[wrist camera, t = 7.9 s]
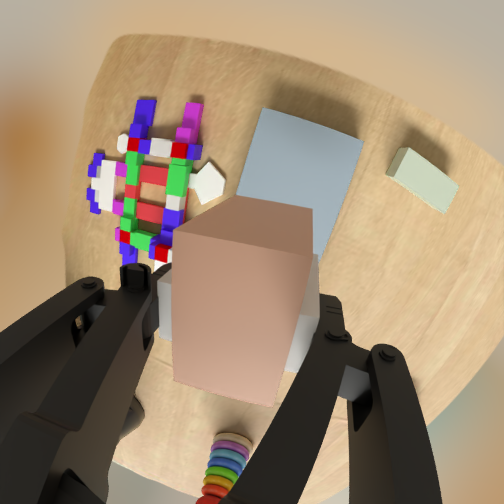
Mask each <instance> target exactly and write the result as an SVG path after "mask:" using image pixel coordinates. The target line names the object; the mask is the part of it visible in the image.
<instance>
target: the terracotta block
mask: <svg viewBox="0 0 504 504" xmlns="http://www.w3.org/2000/svg"><path fill="white" fill-rule="evenodd" d="M312 260H313V209H311V208H306V207H301V206H296V205H290V204H285V203H280V202H274V201H268V200H263V199H257V198H251V197H245V196H239V195H234V196H233V197H231V198H229V199H227V200H225V201H223V202H221V203H220V204H218V205H216V206H214V207H212V208H211V209H209V210H207V211H205V212H203V213H202V214H200V215H198V216H196V217H195V218H193V219H191V220H189V221H188V222H186V223H184V224H182V225H181V226H179V227H177V228H176V229H174V230H173V244H172V280H171V320H172V356H173V376H174V381H175V382H178V383H181V384H185V385H188V386H191V387H194V388H197V389H200V390H204V391H207V392H211V393H214V394H218V395H221V396H225V397H229V398H233V399H237V400H241V401H245V402H249V403H253V404H258V405H262V406H267V407H273V404H274V401H275V398H276V395H277V391H278V388H279V385H280V382H281V378H282V375H283V372H284V368H285V365H286V361H287V358H288V354H289V351H290V347H291V344H292V340H293V336H294V333H295V329H296V325H297V321H298V318H299V314H300V310H301V306H302V302H303V298H304V294H305V290H306V286H307V282H308V277H309V273H310V269H311V264H312Z"/></svg>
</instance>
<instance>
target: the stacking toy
mask: <svg viewBox="0 0 504 504" xmlns="http://www.w3.org/2000/svg"><path fill="white" fill-rule="evenodd" d="M252 450H253V446H252V444H251V442H250V441H249V440H248V439H246V438H245V437H243V436H241V435H238V434H234V433H221V434H218V435H216V436H215V437H214V439H213V445H212V446H211V454H210V461H209V462H208V469H207V470H206V472H205V475H206V477H205V478H204V480H203V483H204V485H205V486H203V487H202V494H203V495H204V496H202V497H200V498H199V499H198V500H197V502H196V504H218V502H219V501H220V500H221V499H222V498H223V497H224V496H225V495H227V494H228V492H229V491H230V490H231V488H232V487H233V485H234V484H235V482H236V481H237V479H238V477H239V476H240V474H241V473H242V471H243V470H242V469H244V468H245V466H246V461H247V460H248V459H249V454H251V452H252Z"/></svg>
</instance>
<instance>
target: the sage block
mask: <svg viewBox="0 0 504 504" xmlns="http://www.w3.org/2000/svg"><path fill="white" fill-rule="evenodd" d="M386 176H388V177H389V178H391V179H392V180H394V181H395V182H397V183H398V184H400V185H401V186H403V187H404V188H406V189H407V190H408V191H410V192H411V193H413V194H414V195H415V196H417V197H418V198H420V199H421V200H422V201H424V202H425V203H427V204H428V205H429V206H431V207H432V208H433V209H435V210H437V211H439V212H441V213H443V214H445V213H446V211H447V209H448V207H449V205H450V203H451V201H452V200H453V198H454V196H455V194H456V192H457V190H458V188H459V185H457V184H456V183H455V182H454V181H453V180H451V179H450V178H449V177H448V176H447V175H445V174H444V173H443V172H442V171H440V170H439V169H438V168H436V167H435V166H434V165H433V164H431V163H430V162H429V161H427V160H426V159H425V158H423V157H422V156H420V155H419V154H418V153H416V152H415V151H413V150H412V149H411V148H409V147H407V148H399V149H398V151H397V153H396V155H395V157H394V159H393V161H392V163H391V165H390V167H389V169H388V171H387V173H386Z"/></svg>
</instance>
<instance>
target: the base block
mask: <svg viewBox="0 0 504 504" xmlns="http://www.w3.org/2000/svg"><path fill="white" fill-rule="evenodd" d="M363 143H364V141H362V140H359V139H357V138H354V137H352V136H349V135H347V134H344V133H342V132H339V131H336V130H333V129H331V128H328V127H325V126H322V125H319V124H317V123H314V122H311V121H308V120H305V119H302V118H298V117H295V116H292V115H289V114H285V113H282V112H279V111H275V110H271V109H268V108H264V107H263V108H262V111H261V114H260V117H259V120H258V124H257V127H256V130H255V133H254V136H253V139H252V143H251V146H250V149H249V152H248V156H247V159H246V162H245V166H244V169H243V172H242V176H241V179H240V182H239V186H238V189H237V192H236V195H239V196H245V197H251V198H257V199H263V200H268V201H274V202H280V203H285V204H290V205H296V206H301V207H306V208H311V209H313V253H314V254H318V264H319V261H320V259H321V257H322V254H323V252H324V249H325V247H326V244H327V242H328V239H329V237H330V234H331V232H332V229H333V227H334V224H335V222H336V219H337V216H338V214H339V211H340V209H341V206H342V203H343V201H344V198H345V195H346V192H347V190H348V187H349V184H350V181H351V179H352V176H353V173H354V170H355V167H356V164H357V161H358V158H359V155H360V152H361V149H362V146H363Z"/></svg>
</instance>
